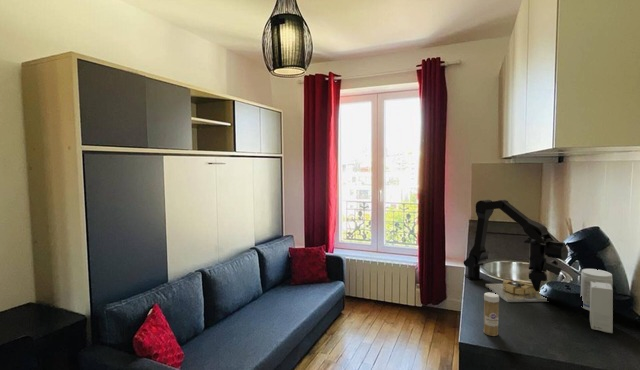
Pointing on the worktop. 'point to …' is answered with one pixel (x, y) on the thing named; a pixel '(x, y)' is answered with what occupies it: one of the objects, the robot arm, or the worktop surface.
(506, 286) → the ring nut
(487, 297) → the sprinkles bottle
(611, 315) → the skincare box
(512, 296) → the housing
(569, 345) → the worktop surface
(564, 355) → the worktop surface
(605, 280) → the supplement tub
